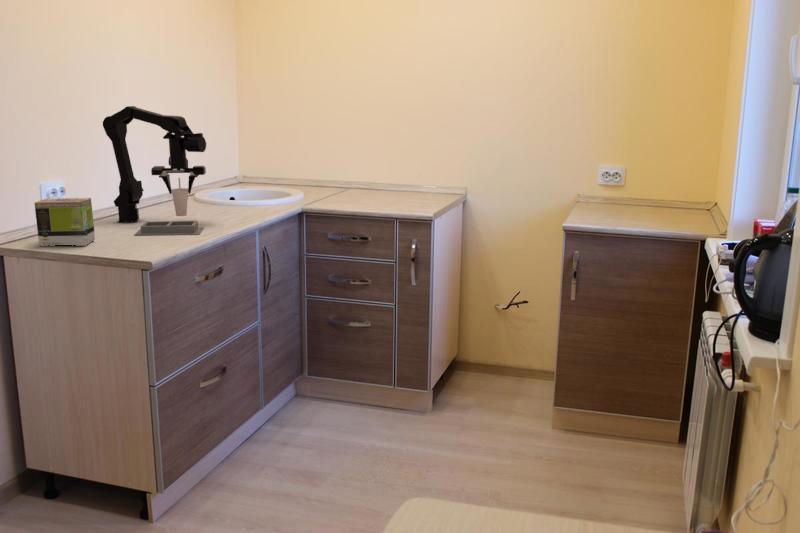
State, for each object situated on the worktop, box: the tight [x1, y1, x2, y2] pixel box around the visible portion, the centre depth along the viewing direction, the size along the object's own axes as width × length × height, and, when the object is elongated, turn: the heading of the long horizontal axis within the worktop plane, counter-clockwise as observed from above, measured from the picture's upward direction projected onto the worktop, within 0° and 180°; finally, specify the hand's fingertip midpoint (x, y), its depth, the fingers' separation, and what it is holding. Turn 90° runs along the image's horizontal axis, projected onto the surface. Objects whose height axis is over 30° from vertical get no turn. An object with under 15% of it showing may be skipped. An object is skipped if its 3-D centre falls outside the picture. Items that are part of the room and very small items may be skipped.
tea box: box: [34, 197, 96, 247], centre depth 258 cm, size 15×10×15 cm, turn 92°
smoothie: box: [171, 177, 189, 217], centre depth 292 cm, size 6×6×14 cm
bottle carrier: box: [134, 220, 205, 237], centre depth 280 cm, size 22×13×3 cm, turn 97°
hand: (180, 193), depth 292 cm, fingers closed on smoothie, 6 cm apart
